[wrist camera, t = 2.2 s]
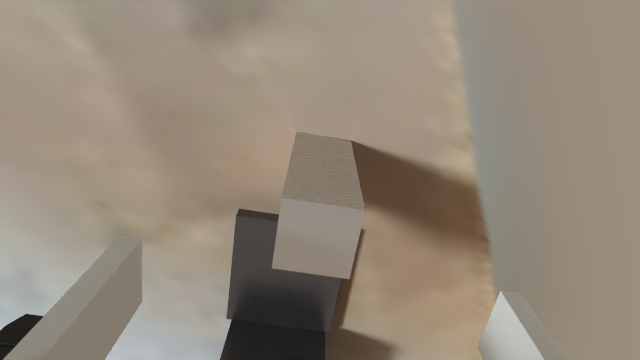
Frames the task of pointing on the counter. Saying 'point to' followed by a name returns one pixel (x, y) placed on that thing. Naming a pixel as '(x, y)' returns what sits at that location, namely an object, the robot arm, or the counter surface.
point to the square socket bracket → (274, 299)
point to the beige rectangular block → (319, 208)
